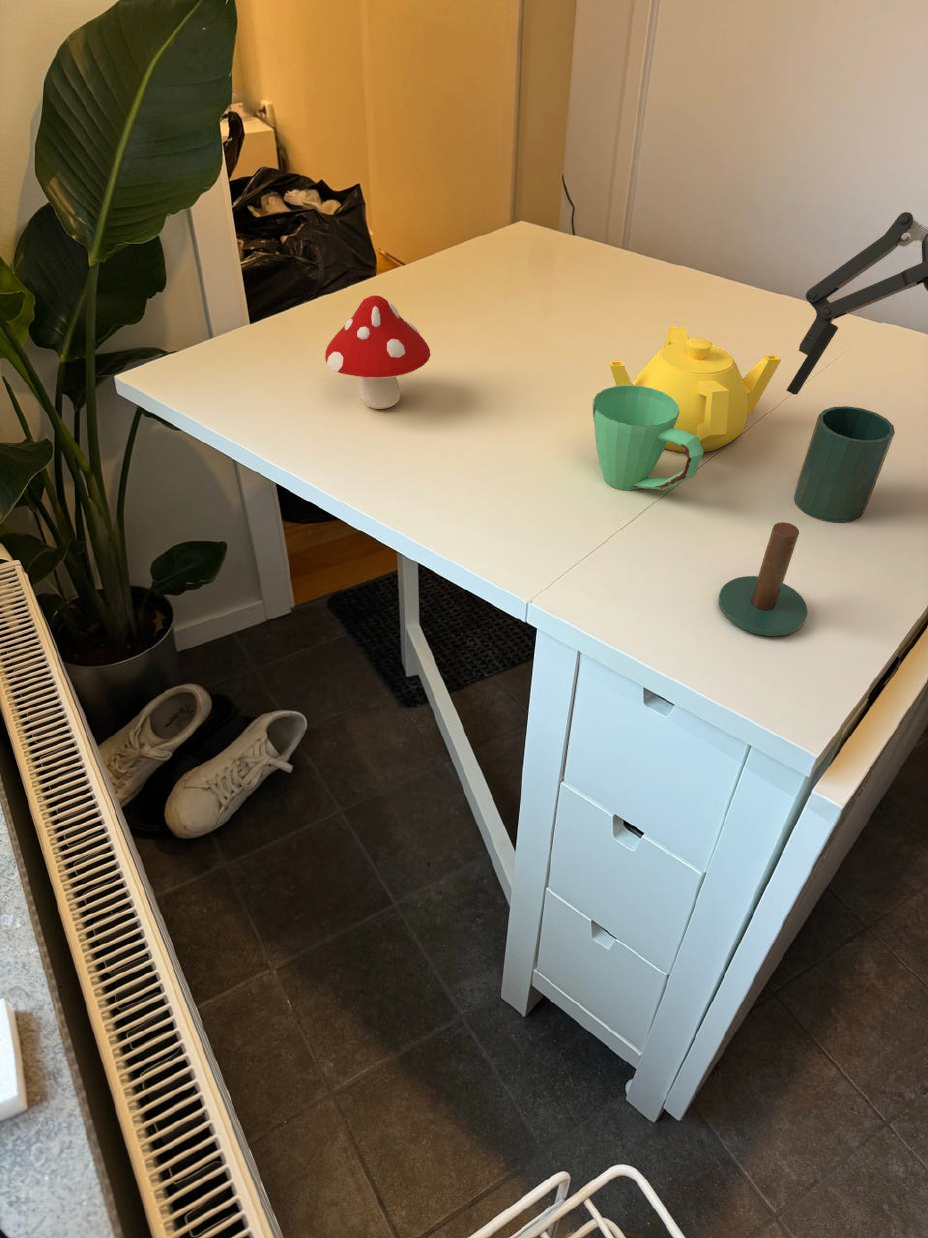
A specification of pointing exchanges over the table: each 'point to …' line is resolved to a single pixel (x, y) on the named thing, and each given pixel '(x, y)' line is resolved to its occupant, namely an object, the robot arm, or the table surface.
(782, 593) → the ring toss peg stand
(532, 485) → the table surface
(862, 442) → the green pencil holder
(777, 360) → the teapot
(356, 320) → the decorative mushroom
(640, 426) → the mug
